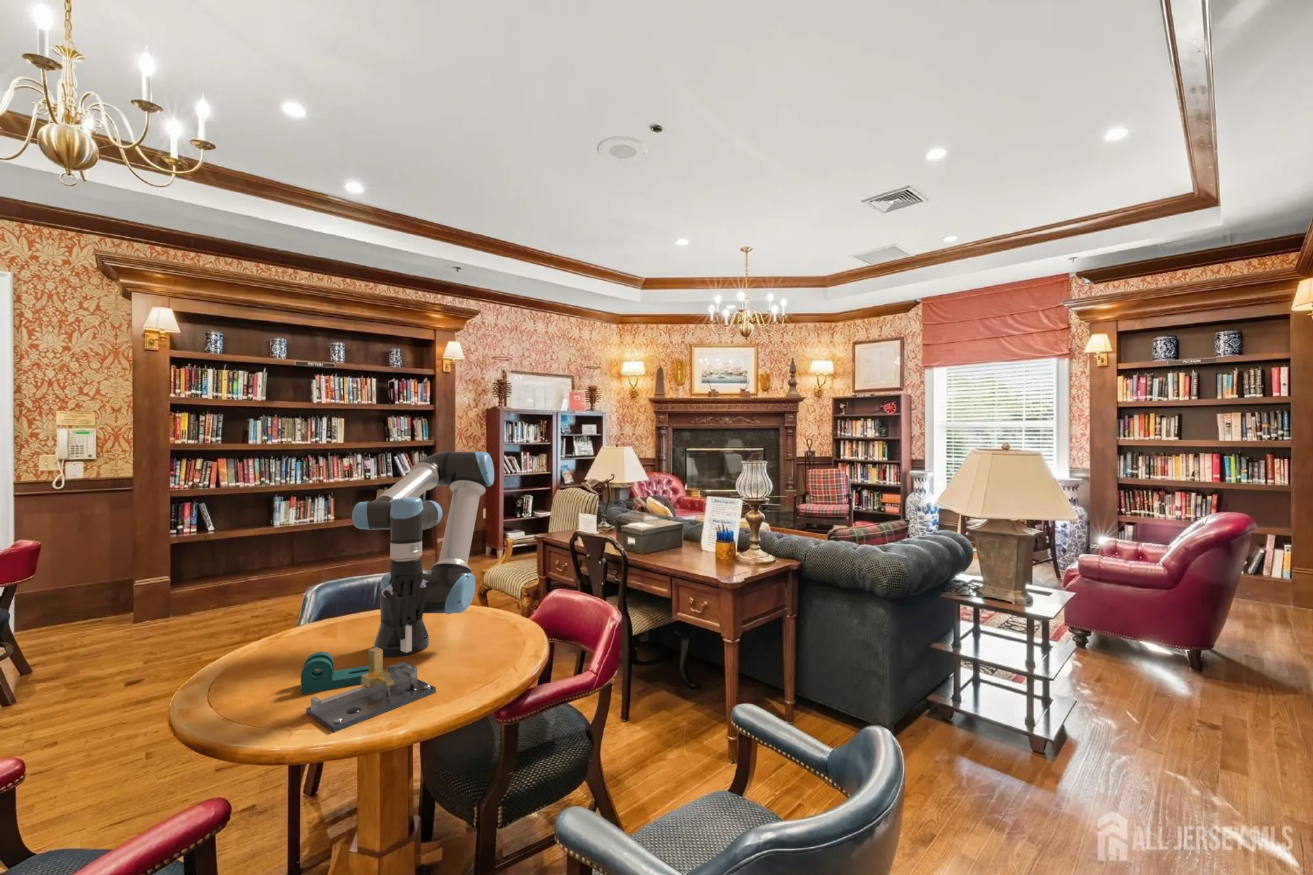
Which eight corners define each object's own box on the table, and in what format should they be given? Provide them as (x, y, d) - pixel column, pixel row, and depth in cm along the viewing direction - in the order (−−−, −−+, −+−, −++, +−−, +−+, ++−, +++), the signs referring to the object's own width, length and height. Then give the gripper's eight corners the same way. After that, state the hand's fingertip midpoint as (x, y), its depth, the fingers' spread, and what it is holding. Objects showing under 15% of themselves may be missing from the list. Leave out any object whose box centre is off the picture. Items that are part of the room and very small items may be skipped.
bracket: (300, 695, 140) (300, 663, 140) (303, 684, 146) (303, 654, 146) (381, 681, 149) (381, 650, 149) (381, 671, 155) (381, 642, 155)
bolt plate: (306, 713, 131) (306, 705, 131) (405, 678, 150) (405, 671, 150) (333, 732, 122) (333, 723, 122) (435, 692, 141) (435, 685, 141)
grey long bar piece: (309, 710, 129) (309, 692, 129) (409, 675, 148) (409, 659, 148) (327, 722, 124) (327, 703, 124) (429, 684, 143) (429, 667, 143)
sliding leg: (361, 690, 139) (361, 650, 139) (381, 683, 143) (381, 644, 143) (379, 701, 133) (379, 659, 133) (400, 693, 137) (400, 652, 137)
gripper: (389, 564, 138) (388, 661, 138) (437, 555, 149) (437, 646, 148) (373, 560, 143) (373, 654, 142) (422, 552, 153) (421, 640, 153)
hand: (406, 650), depth 145 cm, fingers closed
